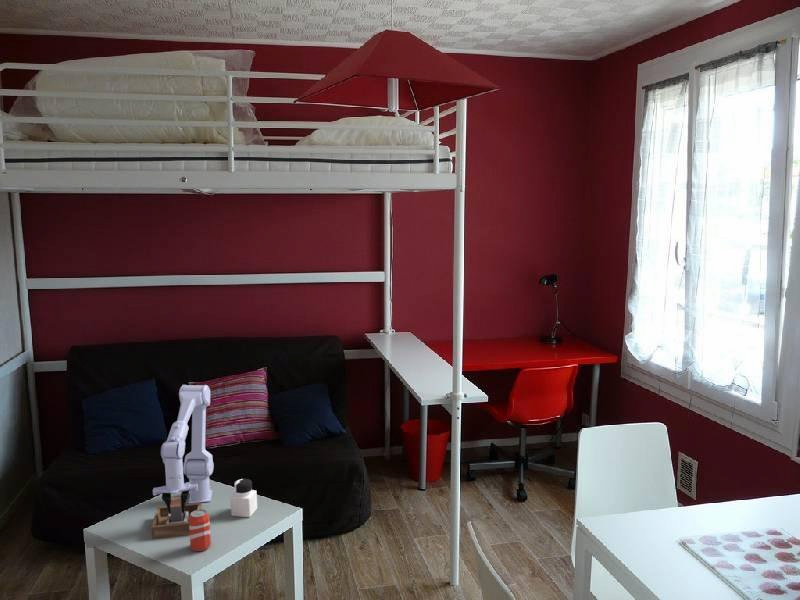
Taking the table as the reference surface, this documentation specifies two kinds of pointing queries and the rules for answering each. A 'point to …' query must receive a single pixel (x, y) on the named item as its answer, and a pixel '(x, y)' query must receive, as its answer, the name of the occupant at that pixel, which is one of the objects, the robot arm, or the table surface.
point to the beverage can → (199, 530)
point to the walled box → (169, 529)
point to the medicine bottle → (243, 499)
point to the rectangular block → (176, 510)
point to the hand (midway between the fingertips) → (177, 512)
